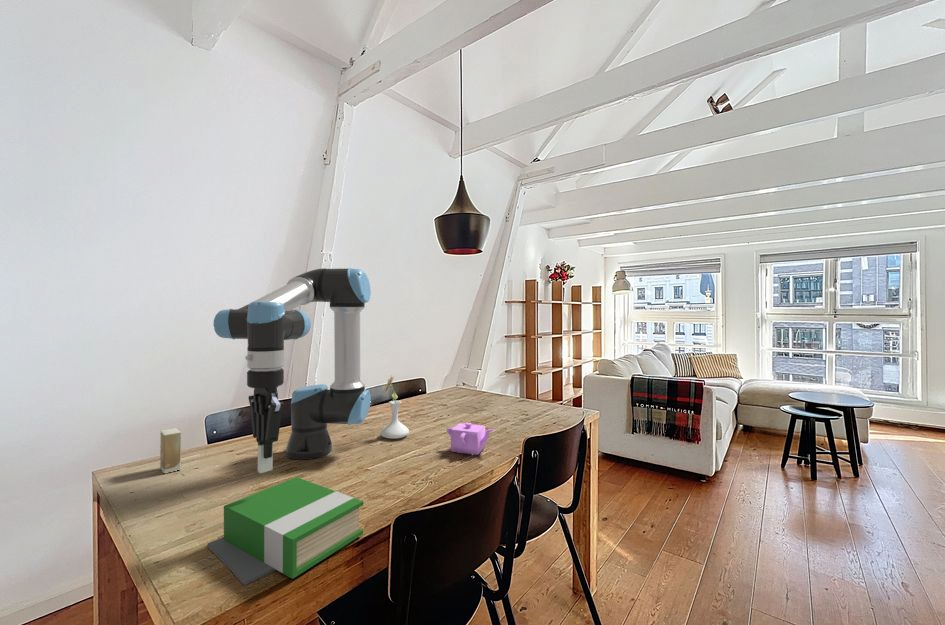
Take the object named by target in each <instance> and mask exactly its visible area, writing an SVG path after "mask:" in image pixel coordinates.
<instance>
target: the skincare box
mask: <svg viewBox="0 0 945 625" xmlns="http://www.w3.org/2000/svg"><path fill="white" fill-rule="evenodd" d="M159 445H160V446H159V447H160V449H159V450H160V455H159V456H160V459H159V460H160V461H159V468H160V471H161V470H162V471H161V472H162V473H168V472H172V473H174V472H173V471H176V472H178V471H177V470H180V471H181V470H182V469H181V468H182V467H181V463H182V462H181V460H182V458H181V457H182V451H181V450H182V431H180V430H179V429H178V428H177V427H174V428H168V429H163V430H160V444H159ZM168 474H169V473H168Z"/></svg>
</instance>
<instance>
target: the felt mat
mask: <svg viewBox="0 0 945 625" xmlns="http://www.w3.org/2000/svg"><path fill="white" fill-rule="evenodd" d="M206 545H207V548H208V549H209V550H210V551H211V552H213V554H214V555H215V556H216V557H217V558H218V559H219V560H220V561H221V562H222V563H223V564H224V566H226V568H227V569H228V568H229V569H230V570H231V571H232V572H233V573H234V574H235V575H234V574H233V573H232V572H231V571H230V570H229V569H228V570H229V571H230V572H231V573H232V574H233V575H234V576H235V578H237V579H238V580H239V582H240V583H242V585H244V586H247V585H249V584H251V583H253V582H255V581H257V580H258V578H259V579H261V578H263V577H265V576H266V575H268V574H271V573H273V572H275V571H277V570H276V569H274V568H273V567H271V566H269V565H267V564H266V563H264V562H262V561H260V560H259V559H257V558H255V557H253V556H252V555H250V554H248V553H246V552H245V551H243V550H241V549H239V548H238V547H236V546H234V545H232V544H231V543H229V542H227V541H225V540H224V536H222V537H220V538H217V539H216V540H213V541H210V542H207V544H206ZM250 582H251V583H250ZM248 583H249V584H248ZM246 584H247V585H246Z"/></svg>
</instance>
